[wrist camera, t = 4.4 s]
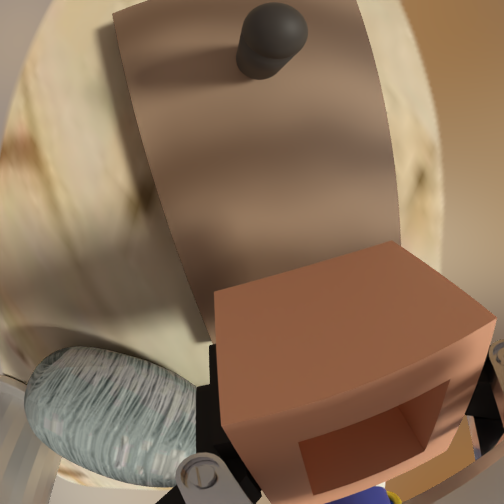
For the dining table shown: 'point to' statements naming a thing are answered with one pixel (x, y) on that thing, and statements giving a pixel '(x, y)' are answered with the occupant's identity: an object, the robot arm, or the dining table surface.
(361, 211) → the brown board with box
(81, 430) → the grey streaked oval part
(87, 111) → the dining table surface
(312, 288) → the orange hollow square block
